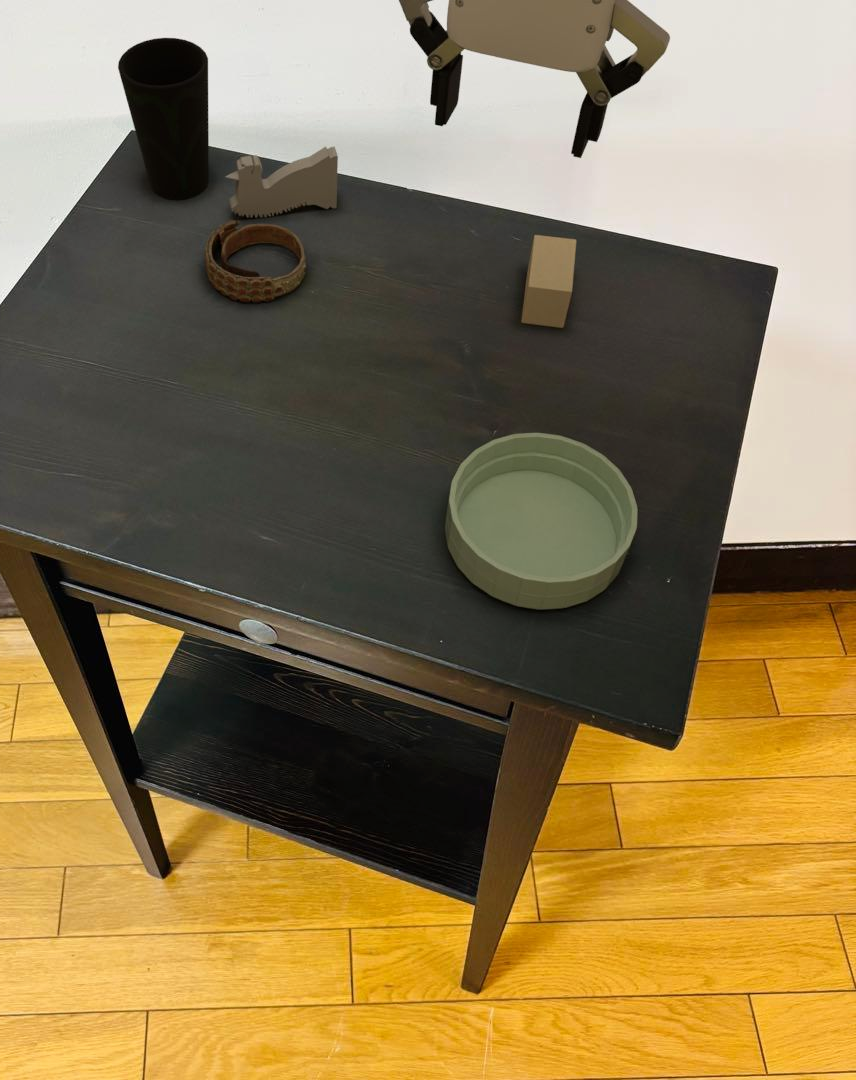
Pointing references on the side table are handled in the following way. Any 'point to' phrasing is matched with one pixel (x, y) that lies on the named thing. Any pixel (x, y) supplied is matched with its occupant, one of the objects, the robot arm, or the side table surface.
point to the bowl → (540, 520)
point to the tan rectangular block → (549, 281)
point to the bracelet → (246, 281)
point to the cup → (169, 113)
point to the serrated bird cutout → (285, 184)
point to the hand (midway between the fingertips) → (512, 130)
